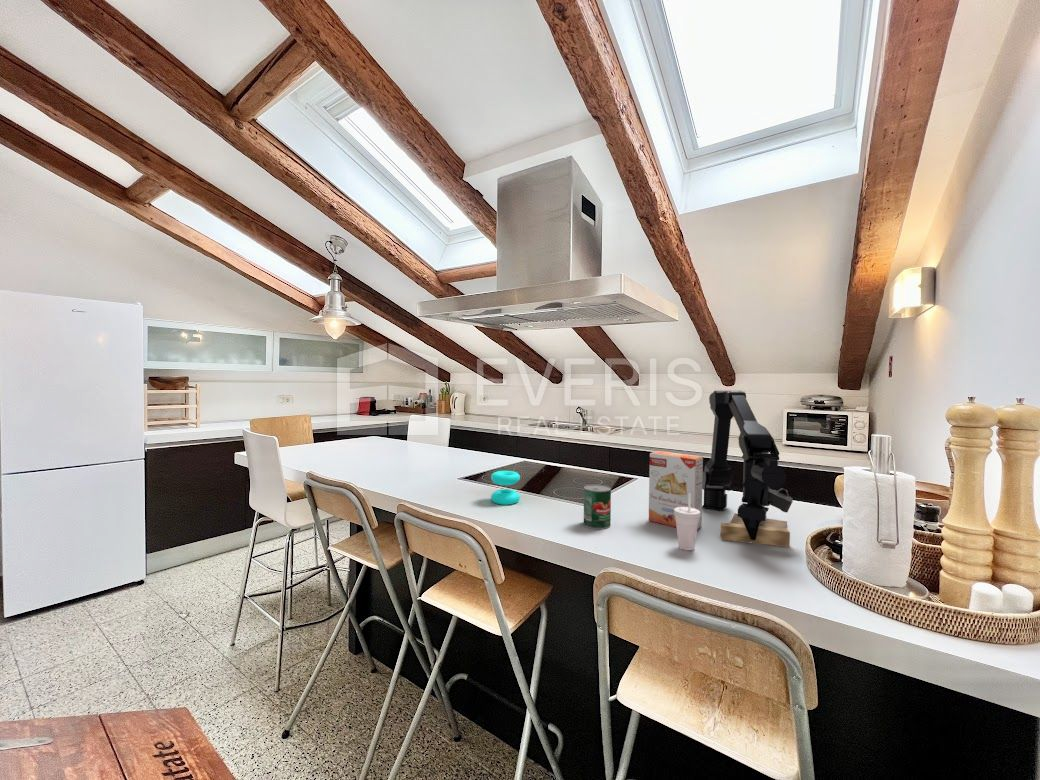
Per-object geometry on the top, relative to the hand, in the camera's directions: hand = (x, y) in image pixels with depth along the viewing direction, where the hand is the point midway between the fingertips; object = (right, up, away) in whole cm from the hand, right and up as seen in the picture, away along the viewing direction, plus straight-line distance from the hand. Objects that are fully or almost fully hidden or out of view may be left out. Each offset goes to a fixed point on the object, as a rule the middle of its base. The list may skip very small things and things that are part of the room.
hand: (753, 537), depth 118 cm
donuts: (-67, 0, +36) cm, 76 cm away
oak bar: (0, -1, 0) cm, 1 cm away
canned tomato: (-40, -1, +12) cm, 42 cm away
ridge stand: (+8, -1, +12) cm, 14 cm away
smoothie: (-20, -1, -5) cm, 21 cm away
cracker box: (-17, -1, +13) cm, 21 cm away
